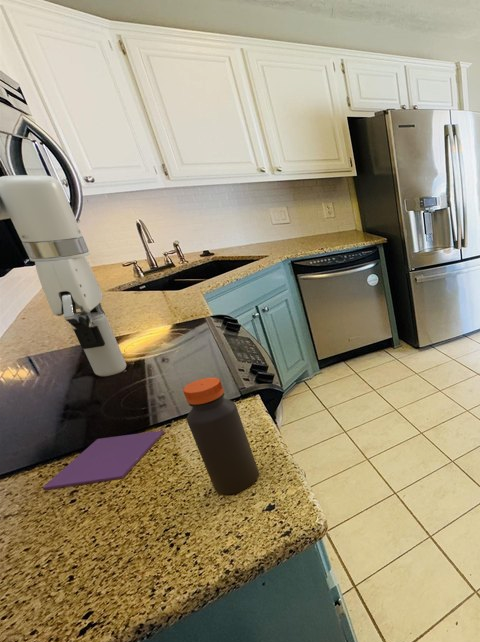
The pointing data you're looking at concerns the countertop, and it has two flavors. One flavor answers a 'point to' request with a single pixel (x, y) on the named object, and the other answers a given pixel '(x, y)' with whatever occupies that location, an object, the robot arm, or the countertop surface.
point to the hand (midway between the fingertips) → (98, 341)
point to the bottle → (220, 437)
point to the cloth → (105, 460)
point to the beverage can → (105, 349)
